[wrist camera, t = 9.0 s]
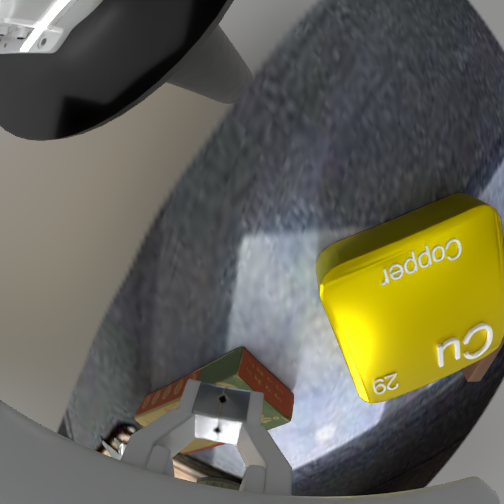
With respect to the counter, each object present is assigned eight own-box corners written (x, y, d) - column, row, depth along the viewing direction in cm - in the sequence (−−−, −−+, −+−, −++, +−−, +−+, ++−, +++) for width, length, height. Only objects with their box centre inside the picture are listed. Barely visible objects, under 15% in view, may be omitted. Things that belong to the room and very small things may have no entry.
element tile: (470, 184, 20) (503, 198, 15) (486, 323, 24) (506, 351, 20) (307, 251, 24) (310, 280, 19) (357, 378, 28) (364, 413, 24)
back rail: (457, 363, 26) (467, 381, 23) (519, 226, 20) (537, 237, 17) (470, 364, 26) (479, 381, 23) (530, 231, 20) (548, 242, 17)
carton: (144, 394, 33) (131, 419, 29) (243, 342, 28) (236, 374, 24) (191, 431, 35) (183, 457, 31) (295, 392, 29) (294, 424, 26)
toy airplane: (104, 463, 45) (100, 471, 43) (101, 416, 37) (95, 427, 35) (139, 478, 46) (135, 487, 43) (147, 438, 37) (142, 450, 35)
